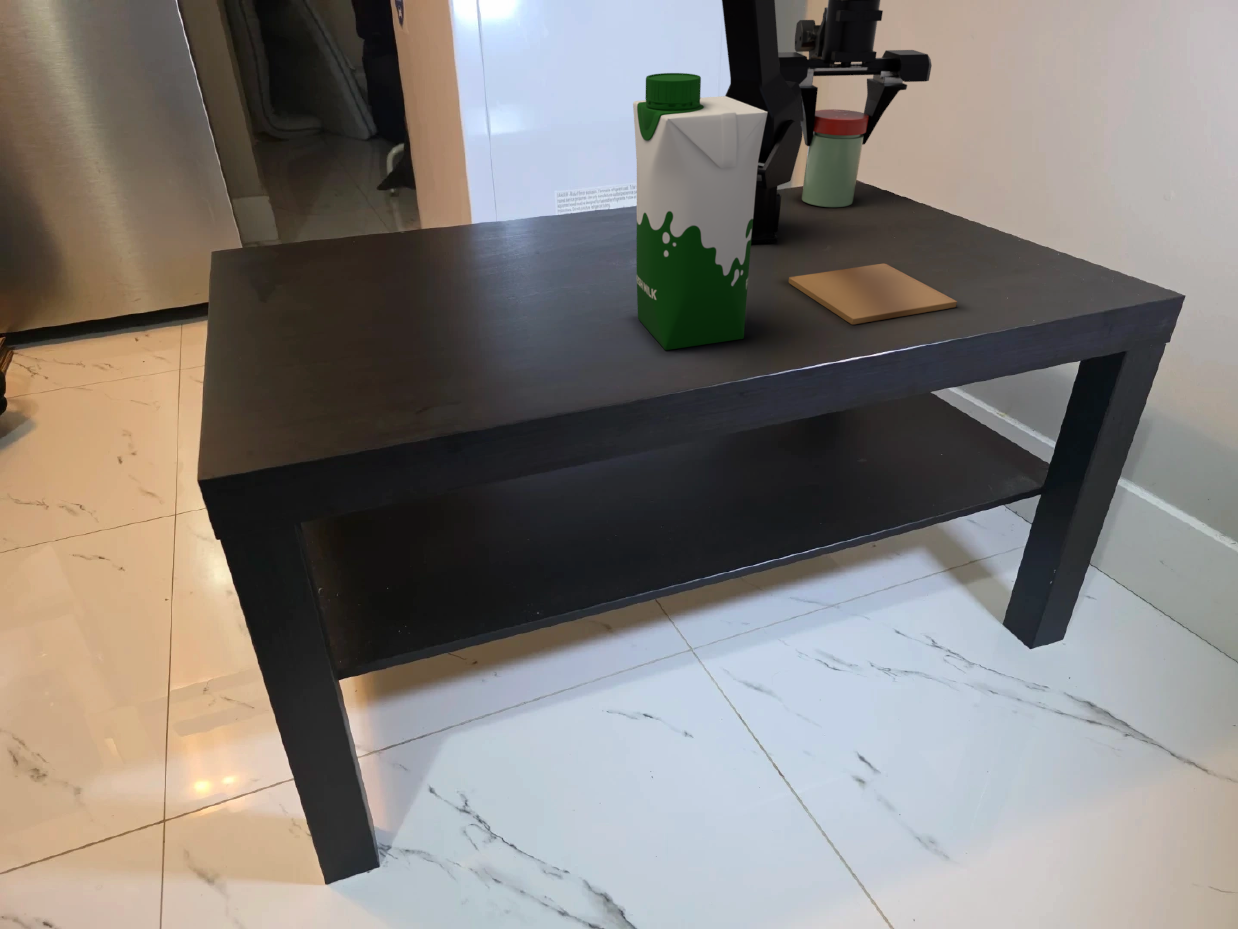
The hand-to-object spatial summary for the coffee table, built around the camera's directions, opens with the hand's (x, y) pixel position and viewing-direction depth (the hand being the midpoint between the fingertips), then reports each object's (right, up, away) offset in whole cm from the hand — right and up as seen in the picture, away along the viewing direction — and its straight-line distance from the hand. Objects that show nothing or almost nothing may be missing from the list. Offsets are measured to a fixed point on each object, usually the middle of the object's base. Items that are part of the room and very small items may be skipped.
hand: (835, 144), depth 100 cm
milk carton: (-20, -28, -29) cm, 45 cm away
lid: (0, +2, -2) cm, 3 cm away
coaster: (-3, -23, -23) cm, 33 cm away
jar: (0, -6, +3) cm, 7 cm away
